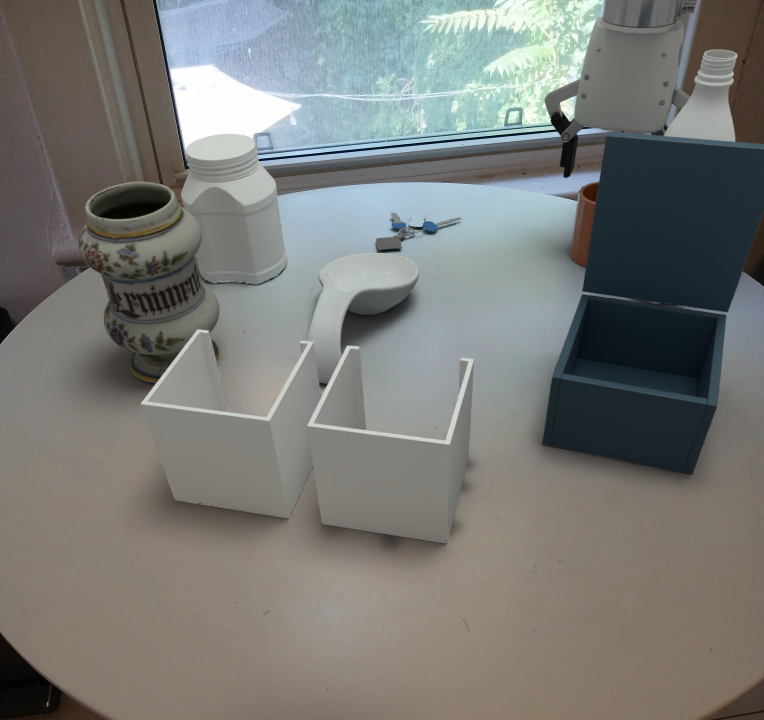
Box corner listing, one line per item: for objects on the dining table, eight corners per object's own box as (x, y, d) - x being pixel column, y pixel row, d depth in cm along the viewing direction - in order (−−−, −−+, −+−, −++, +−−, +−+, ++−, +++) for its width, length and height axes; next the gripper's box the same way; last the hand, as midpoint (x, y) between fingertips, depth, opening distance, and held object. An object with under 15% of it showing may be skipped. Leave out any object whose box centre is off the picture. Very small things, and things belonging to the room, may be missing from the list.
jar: (190, 283, 94) (159, 161, 83) (212, 247, 100) (186, 131, 89) (277, 285, 92) (257, 162, 81) (294, 249, 99) (277, 131, 88)
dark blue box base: (692, 475, 65) (717, 405, 60) (541, 444, 69) (552, 376, 64) (704, 381, 75) (726, 314, 69) (570, 359, 79) (582, 293, 73)
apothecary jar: (176, 404, 76) (125, 238, 63) (97, 370, 81) (35, 210, 68) (251, 346, 83) (218, 186, 70) (174, 319, 88) (130, 164, 75)
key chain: (387, 256, 96) (387, 251, 95) (347, 236, 100) (347, 231, 100) (462, 222, 102) (462, 216, 101) (421, 204, 106) (421, 199, 106)
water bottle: (637, 311, 84) (694, 67, 66) (621, 280, 89) (670, 45, 71) (699, 308, 84) (774, 63, 66) (680, 277, 89) (744, 41, 71)
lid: (785, 150, 56) (788, 117, 59) (606, 135, 60) (617, 104, 63) (727, 312, 69) (732, 278, 72) (582, 291, 72) (592, 260, 75)
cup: (594, 237, 97) (604, 176, 92) (638, 255, 93) (652, 193, 88) (558, 255, 94) (566, 193, 89) (602, 275, 90) (614, 211, 85)
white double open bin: (174, 500, 66) (140, 403, 58) (222, 424, 73) (197, 329, 65) (446, 543, 61) (449, 444, 53) (468, 457, 68) (474, 358, 60)
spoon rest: (338, 272, 94) (333, 218, 89) (428, 280, 91) (428, 225, 86) (274, 381, 78) (263, 322, 73) (380, 394, 76) (377, 334, 70)
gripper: (732, 3, 75) (687, 174, 87) (563, -5, 79) (543, 158, 92) (729, 22, 70) (681, 200, 82) (549, 12, 74) (529, 182, 87)
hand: (608, 178), depth 87 cm, fingers open, 9 cm apart
